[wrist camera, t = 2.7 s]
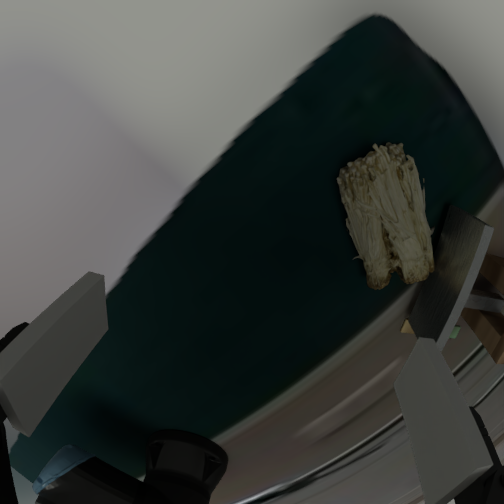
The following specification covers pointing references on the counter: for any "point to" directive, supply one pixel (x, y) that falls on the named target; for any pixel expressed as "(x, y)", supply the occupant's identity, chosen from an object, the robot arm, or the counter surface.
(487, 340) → the base
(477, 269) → the plate
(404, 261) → the mushroom
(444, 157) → the counter surface
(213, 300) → the counter surface
